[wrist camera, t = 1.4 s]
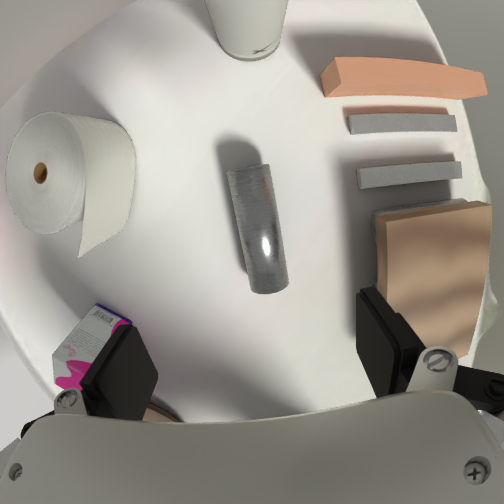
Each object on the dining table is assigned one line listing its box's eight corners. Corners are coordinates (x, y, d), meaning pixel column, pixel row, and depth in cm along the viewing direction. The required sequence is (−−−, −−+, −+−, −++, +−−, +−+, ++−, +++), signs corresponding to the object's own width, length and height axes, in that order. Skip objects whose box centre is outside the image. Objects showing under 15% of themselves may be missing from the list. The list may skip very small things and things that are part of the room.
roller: (294, 277, 30) (279, 295, 27) (261, 275, 32) (243, 292, 29) (276, 162, 26) (255, 166, 23) (241, 168, 28) (217, 173, 25)
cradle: (457, 177, 26) (462, 178, 25) (358, 187, 27) (362, 188, 26) (449, 115, 24) (454, 115, 23) (347, 116, 25) (350, 114, 24)
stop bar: (457, 99, 23) (487, 94, 17) (325, 97, 24) (341, 83, 19) (452, 81, 22) (482, 73, 17) (319, 75, 24) (334, 57, 18)
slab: (459, 344, 30) (467, 354, 27) (372, 373, 31) (378, 387, 28) (477, 200, 23) (491, 205, 21) (375, 215, 24) (386, 221, 22)
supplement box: (91, 332, 34) (52, 383, 23) (96, 301, 33) (50, 352, 22) (125, 351, 35) (93, 408, 24) (134, 321, 33) (96, 380, 22)
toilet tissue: (84, 107, 25) (27, 97, 15) (164, 146, 26) (119, 143, 17) (52, 187, 28) (-3, 203, 18) (123, 233, 30) (75, 265, 20)
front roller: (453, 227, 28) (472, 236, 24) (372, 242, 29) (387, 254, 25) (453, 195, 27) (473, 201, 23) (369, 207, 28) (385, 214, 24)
